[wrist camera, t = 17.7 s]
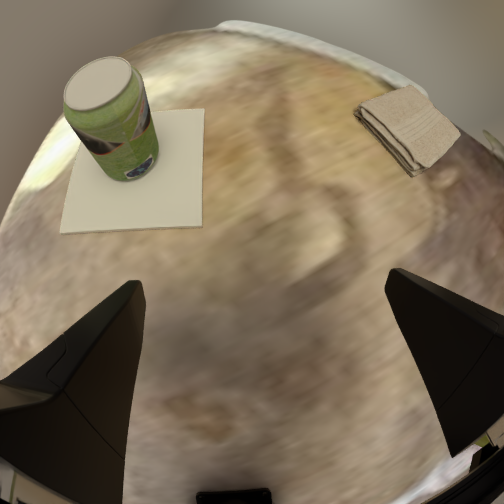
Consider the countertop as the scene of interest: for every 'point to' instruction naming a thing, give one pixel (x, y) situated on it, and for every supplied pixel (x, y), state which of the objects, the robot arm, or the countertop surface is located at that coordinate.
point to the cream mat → (142, 184)
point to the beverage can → (112, 117)
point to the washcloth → (408, 128)
